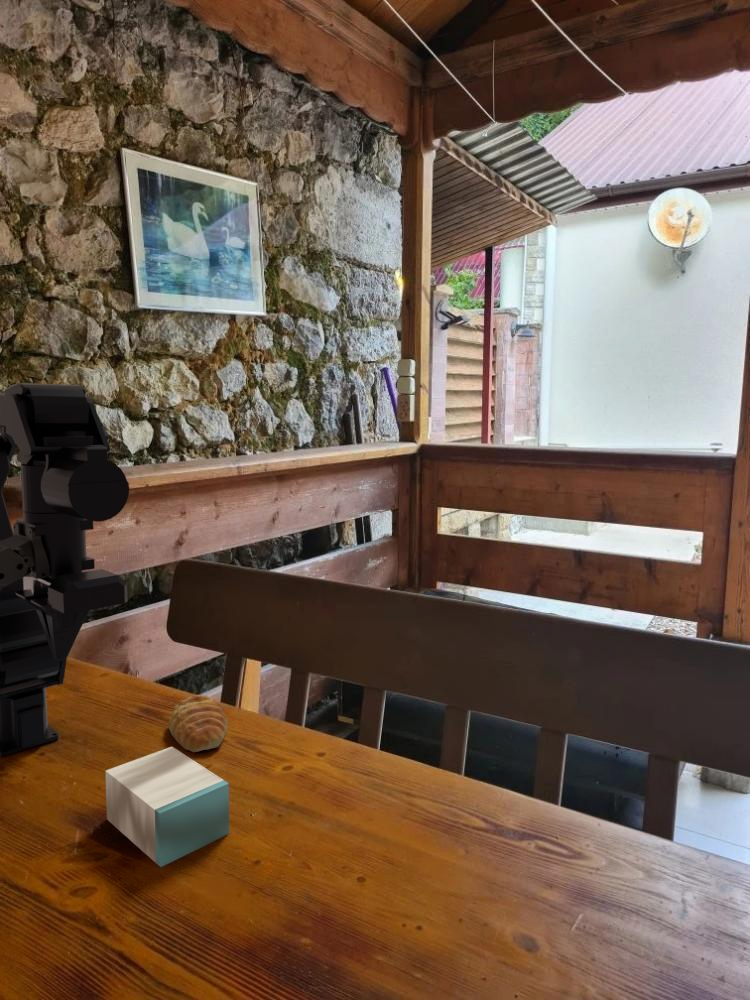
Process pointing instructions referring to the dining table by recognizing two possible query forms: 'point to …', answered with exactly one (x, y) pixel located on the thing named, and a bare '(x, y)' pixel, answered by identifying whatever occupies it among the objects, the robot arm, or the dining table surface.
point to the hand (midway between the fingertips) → (60, 658)
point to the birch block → (167, 804)
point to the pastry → (198, 723)
